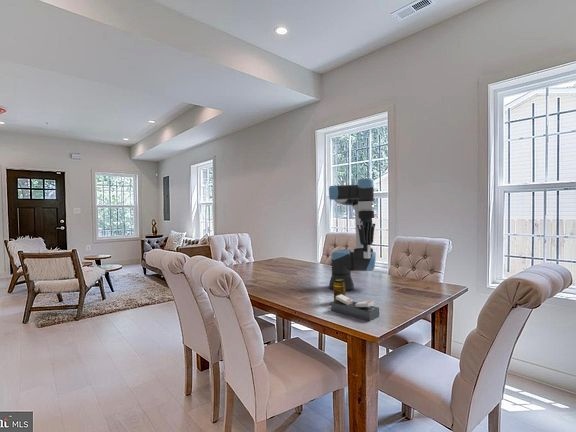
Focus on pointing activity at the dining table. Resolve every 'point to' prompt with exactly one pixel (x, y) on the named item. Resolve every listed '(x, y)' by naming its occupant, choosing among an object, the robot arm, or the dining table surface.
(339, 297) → the rocker
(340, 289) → the condiment
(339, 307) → the power strip
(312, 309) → the dining table surface
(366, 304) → the block
